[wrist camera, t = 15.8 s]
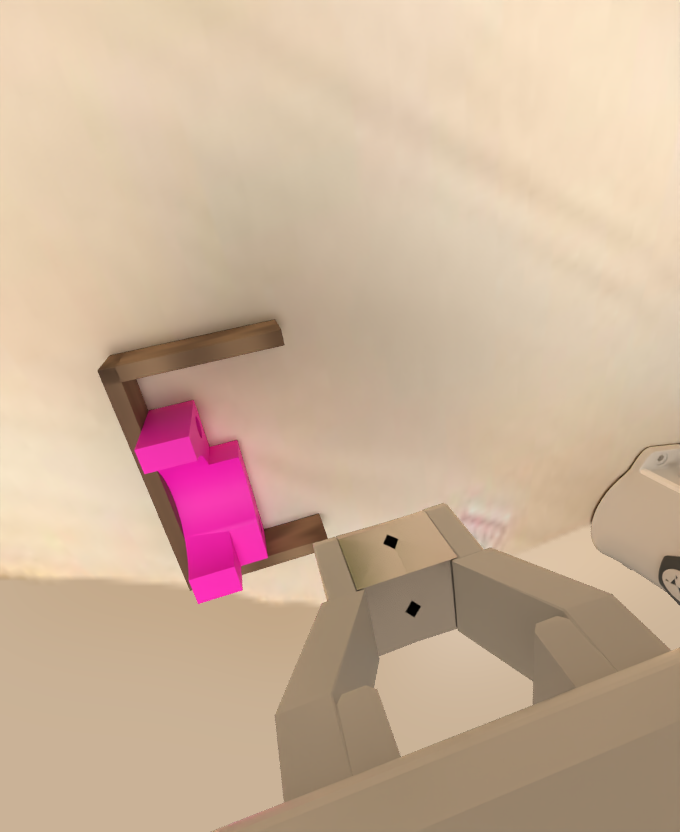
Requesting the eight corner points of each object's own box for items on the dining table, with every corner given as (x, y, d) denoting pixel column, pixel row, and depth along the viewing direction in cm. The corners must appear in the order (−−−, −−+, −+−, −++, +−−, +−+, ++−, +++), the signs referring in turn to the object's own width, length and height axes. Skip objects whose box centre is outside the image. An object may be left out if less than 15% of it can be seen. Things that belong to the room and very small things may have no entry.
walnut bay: (274, 319, 37) (281, 329, 34) (321, 522, 46) (329, 548, 43) (109, 355, 35) (97, 370, 32) (192, 560, 44) (190, 590, 41)
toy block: (263, 528, 45) (271, 581, 38) (201, 546, 44) (198, 603, 37) (223, 392, 39) (224, 427, 32) (149, 409, 38) (134, 450, 31)
